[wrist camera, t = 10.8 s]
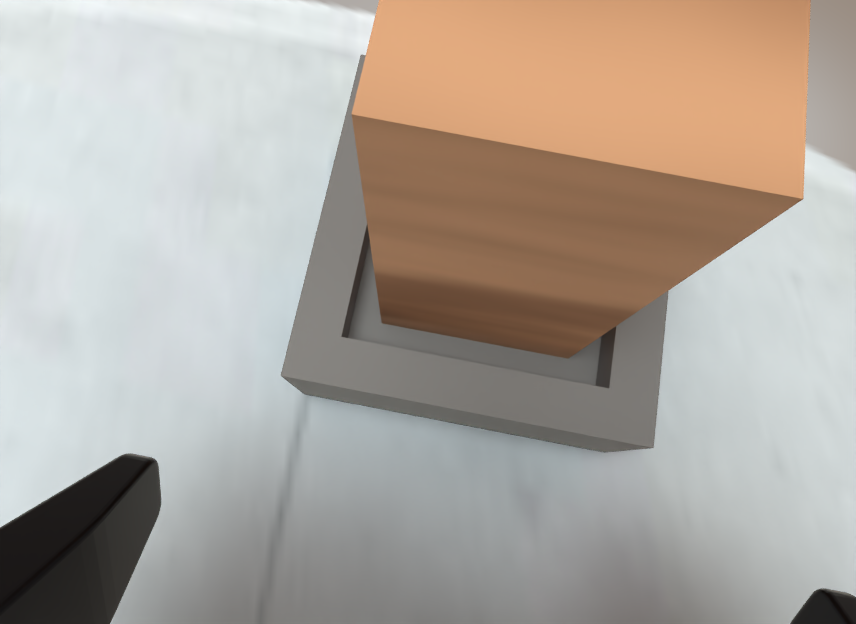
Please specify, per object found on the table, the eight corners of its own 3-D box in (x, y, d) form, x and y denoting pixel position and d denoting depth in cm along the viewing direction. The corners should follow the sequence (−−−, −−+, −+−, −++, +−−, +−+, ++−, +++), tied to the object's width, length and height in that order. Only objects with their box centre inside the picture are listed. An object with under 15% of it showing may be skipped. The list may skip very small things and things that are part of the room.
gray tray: (635, 177, 21) (685, 116, 17) (604, 452, 18) (653, 448, 15) (368, 126, 21) (360, 54, 17) (304, 393, 18) (280, 375, 15)
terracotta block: (568, 358, 16) (803, 198, 7) (381, 323, 17) (351, 114, 7) (590, 187, 18) (816, -155, 8) (417, 154, 18) (434, -224, 8)
